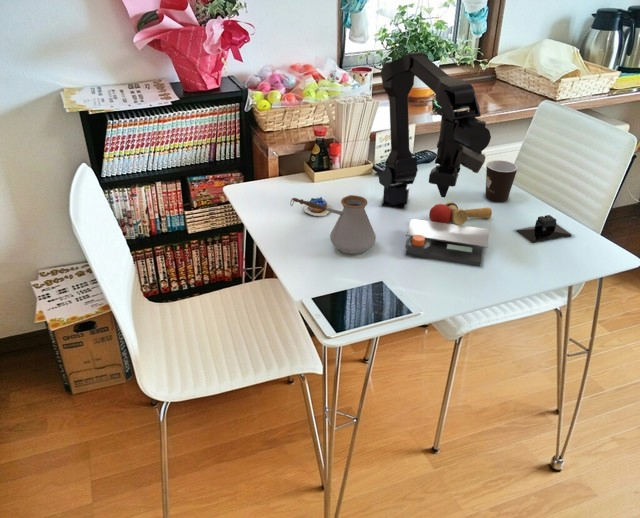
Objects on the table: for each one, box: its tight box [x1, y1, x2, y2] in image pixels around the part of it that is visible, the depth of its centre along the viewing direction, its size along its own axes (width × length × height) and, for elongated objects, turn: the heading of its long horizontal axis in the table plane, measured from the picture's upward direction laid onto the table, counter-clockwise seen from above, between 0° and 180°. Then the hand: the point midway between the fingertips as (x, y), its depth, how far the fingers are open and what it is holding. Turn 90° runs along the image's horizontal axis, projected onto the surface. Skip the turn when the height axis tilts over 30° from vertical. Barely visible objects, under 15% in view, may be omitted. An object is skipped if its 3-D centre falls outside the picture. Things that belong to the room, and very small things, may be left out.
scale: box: [404, 237, 484, 267], centre depth 149 cm, size 18×15×3 cm
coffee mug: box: [484, 159, 519, 203], centre depth 173 cm, size 12×9×10 cm
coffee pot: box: [289, 194, 377, 255], centre depth 145 cm, size 21×12×15 cm, turn 101°
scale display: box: [446, 244, 472, 253], centre depth 144 cm, size 6×2×1 cm, turn 73°
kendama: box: [428, 201, 493, 226], centre depth 161 cm, size 8×6×18 cm
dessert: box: [303, 196, 331, 217], centre depth 167 cm, size 8×7×6 cm
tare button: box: [412, 235, 425, 246], centre depth 146 cm, size 3×3×2 cm
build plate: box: [516, 214, 573, 244], centre depth 155 cm, size 12×7×5 cm, turn 109°
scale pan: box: [405, 218, 490, 248], centre depth 150 cm, size 20×9×1 cm, turn 73°
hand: (443, 196), depth 149 cm, fingers closed
